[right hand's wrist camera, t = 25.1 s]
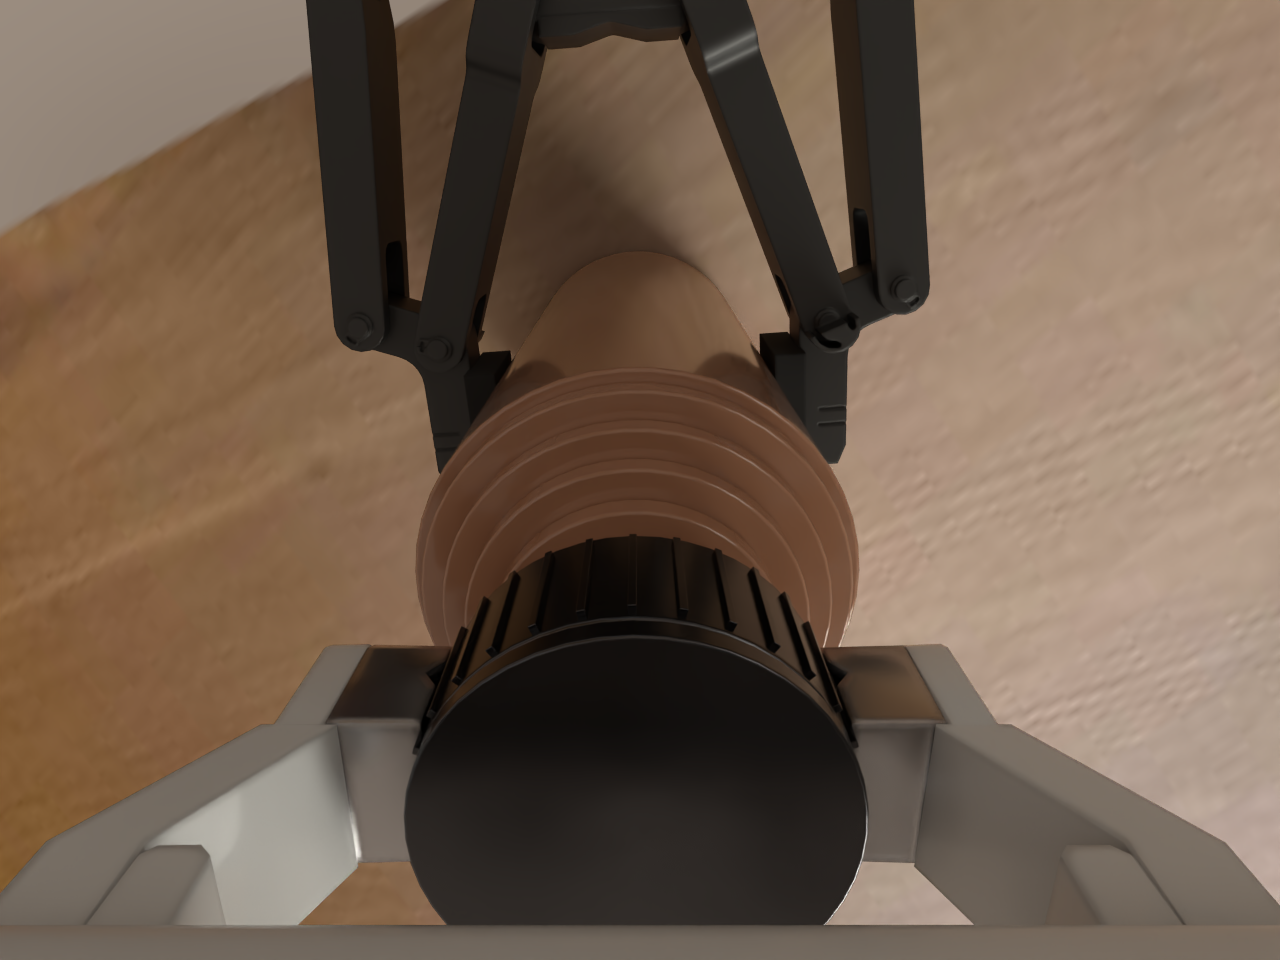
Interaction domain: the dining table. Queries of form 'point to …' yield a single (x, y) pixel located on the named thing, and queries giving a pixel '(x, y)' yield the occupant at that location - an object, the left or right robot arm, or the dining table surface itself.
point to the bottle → (637, 451)
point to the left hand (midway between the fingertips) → (650, 577)
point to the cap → (636, 751)
